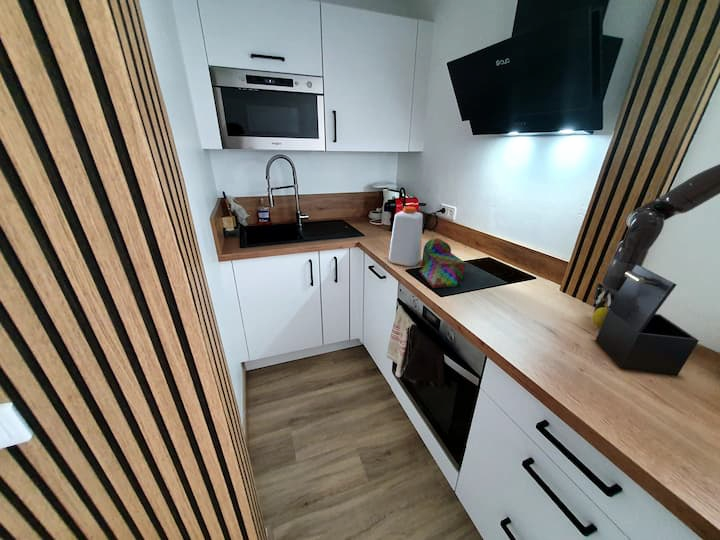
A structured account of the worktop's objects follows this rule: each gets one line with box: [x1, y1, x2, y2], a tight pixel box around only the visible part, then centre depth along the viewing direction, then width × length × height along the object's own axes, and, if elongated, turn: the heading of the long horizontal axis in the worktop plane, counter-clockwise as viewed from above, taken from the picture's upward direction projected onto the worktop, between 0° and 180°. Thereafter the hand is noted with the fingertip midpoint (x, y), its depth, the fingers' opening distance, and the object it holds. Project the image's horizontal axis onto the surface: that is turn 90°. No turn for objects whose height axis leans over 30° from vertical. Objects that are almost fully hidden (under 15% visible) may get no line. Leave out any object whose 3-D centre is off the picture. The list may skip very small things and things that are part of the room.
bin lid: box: [607, 265, 677, 332], centre depth 77 cm, size 14×13×5 cm
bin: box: [594, 309, 700, 377], centre depth 81 cm, size 14×13×12 cm
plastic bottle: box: [388, 206, 424, 267], centre depth 144 cm, size 15×15×28 cm
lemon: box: [591, 306, 609, 329], centre depth 96 cm, size 6×6×8 cm
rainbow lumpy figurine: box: [418, 237, 466, 289], centre depth 132 cm, size 25×17×14 cm
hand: (602, 318), depth 96 cm, fingers closed on lemon, 5 cm apart
